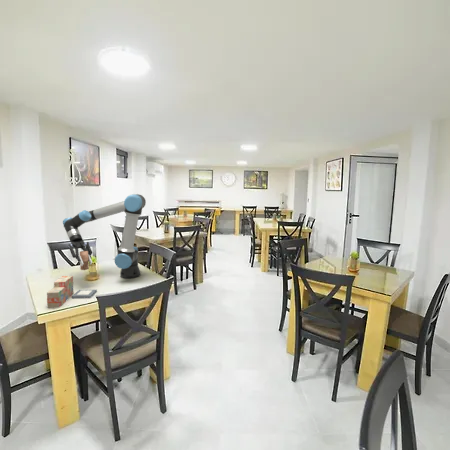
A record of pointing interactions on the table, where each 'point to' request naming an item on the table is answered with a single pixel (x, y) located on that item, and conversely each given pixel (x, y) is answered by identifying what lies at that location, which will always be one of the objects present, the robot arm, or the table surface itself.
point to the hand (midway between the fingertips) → (86, 264)
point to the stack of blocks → (60, 292)
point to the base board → (84, 294)
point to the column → (84, 260)
